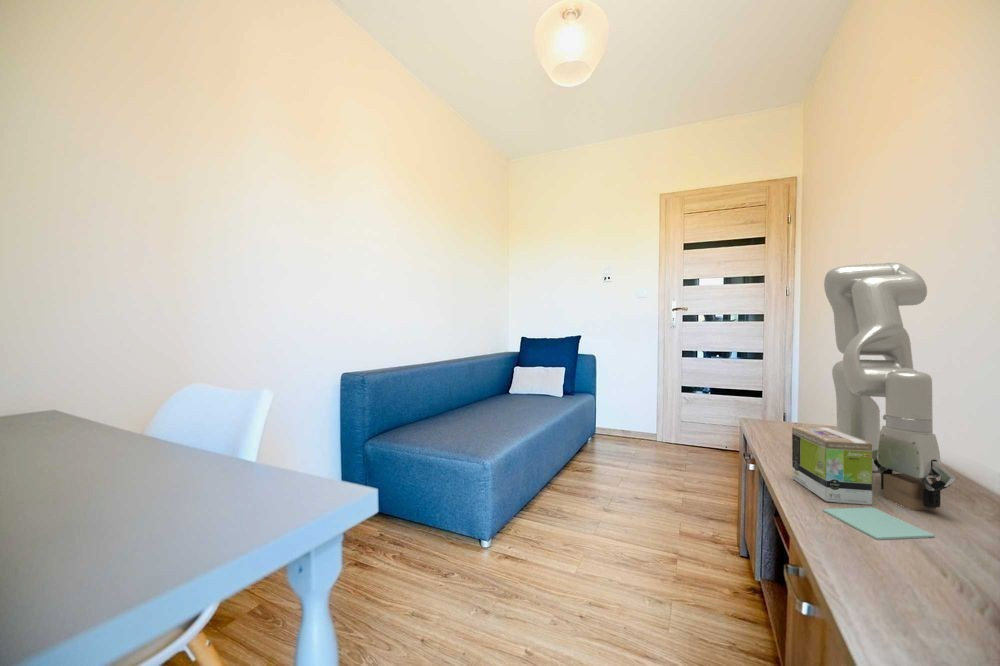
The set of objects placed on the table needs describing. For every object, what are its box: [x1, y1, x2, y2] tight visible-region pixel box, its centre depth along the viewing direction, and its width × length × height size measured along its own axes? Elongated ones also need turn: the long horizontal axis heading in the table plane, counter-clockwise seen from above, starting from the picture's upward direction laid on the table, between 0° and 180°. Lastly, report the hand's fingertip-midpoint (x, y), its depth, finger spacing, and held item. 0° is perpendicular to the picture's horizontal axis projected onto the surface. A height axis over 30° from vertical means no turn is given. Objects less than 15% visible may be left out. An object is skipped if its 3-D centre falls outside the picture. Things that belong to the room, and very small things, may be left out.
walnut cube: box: [883, 473, 937, 511], centre depth 90 cm, size 6×6×6 cm
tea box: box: [791, 426, 873, 506], centre depth 97 cm, size 15×10×15 cm, turn 168°
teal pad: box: [821, 506, 936, 541], centre depth 81 cm, size 12×12×1 cm
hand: (909, 497), depth 90 cm, fingers open, 8 cm apart
